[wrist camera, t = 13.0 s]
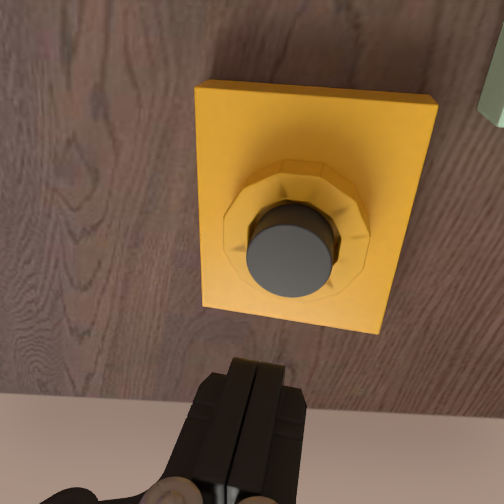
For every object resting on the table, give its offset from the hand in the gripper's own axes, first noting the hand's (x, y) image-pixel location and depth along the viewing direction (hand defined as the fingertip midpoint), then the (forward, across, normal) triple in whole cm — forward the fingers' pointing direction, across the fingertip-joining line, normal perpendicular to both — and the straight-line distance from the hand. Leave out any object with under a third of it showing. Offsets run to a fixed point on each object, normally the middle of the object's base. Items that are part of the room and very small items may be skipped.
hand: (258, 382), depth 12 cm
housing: (+12, 0, 0) cm, 12 cm away
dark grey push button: (+8, 0, 0) cm, 8 cm away
